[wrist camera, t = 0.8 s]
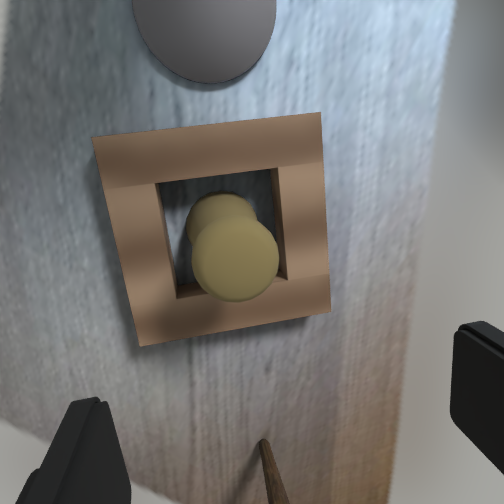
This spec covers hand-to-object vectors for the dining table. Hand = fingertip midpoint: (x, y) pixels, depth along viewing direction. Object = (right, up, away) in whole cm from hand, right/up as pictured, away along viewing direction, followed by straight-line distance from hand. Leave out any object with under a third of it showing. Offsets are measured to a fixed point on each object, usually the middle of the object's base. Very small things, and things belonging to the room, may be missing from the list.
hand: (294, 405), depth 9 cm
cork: (-4, +6, +21) cm, 22 cm away
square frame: (-4, +6, +21) cm, 22 cm away
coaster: (-4, +21, +16) cm, 27 cm away
